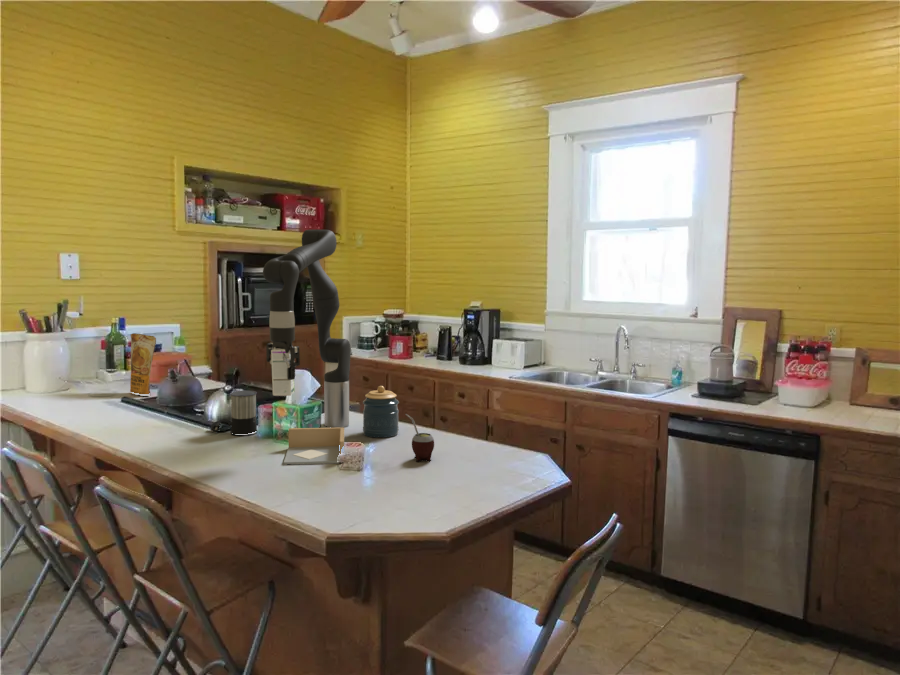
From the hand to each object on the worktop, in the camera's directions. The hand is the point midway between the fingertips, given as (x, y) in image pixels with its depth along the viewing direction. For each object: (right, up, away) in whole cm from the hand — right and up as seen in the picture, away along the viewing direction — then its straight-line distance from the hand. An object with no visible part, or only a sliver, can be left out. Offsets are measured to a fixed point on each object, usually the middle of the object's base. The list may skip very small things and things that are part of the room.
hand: (283, 377), depth 200 cm
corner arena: (+9, -25, +5) cm, 27 cm away
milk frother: (-26, -22, +33) cm, 47 cm away
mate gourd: (+43, -26, +2) cm, 50 cm away
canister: (+27, -23, +34) cm, 49 cm away
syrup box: (0, -5, +1) cm, 5 cm away
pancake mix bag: (-91, -14, +98) cm, 134 cm away
